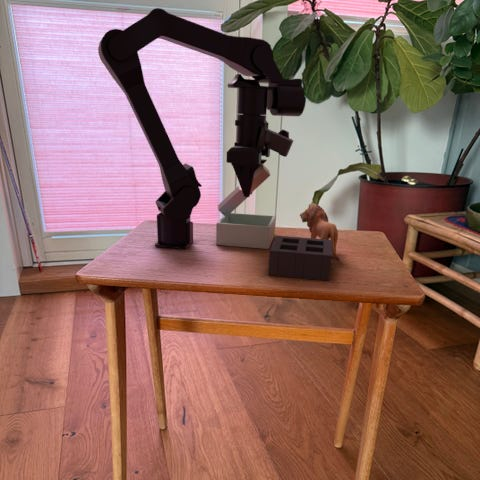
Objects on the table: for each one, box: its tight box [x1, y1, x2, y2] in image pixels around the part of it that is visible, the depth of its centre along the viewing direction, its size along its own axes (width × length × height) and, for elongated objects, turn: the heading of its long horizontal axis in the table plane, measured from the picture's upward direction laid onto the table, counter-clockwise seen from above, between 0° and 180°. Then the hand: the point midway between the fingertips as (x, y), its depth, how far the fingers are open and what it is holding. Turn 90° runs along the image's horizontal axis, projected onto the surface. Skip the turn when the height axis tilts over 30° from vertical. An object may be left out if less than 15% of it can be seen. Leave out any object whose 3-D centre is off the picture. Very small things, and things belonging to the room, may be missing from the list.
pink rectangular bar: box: [217, 164, 271, 217], centre depth 96 cm, size 2×3×13 cm
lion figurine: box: [299, 203, 341, 262], centre depth 91 cm, size 15×5×9 cm, turn 19°
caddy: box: [267, 235, 333, 282], centre depth 82 cm, size 10×10×4 cm
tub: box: [215, 212, 277, 250], centre depth 99 cm, size 11×11×5 cm
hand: (248, 195), depth 96 cm, fingers closed on pink rectangular bar, 3 cm apart
